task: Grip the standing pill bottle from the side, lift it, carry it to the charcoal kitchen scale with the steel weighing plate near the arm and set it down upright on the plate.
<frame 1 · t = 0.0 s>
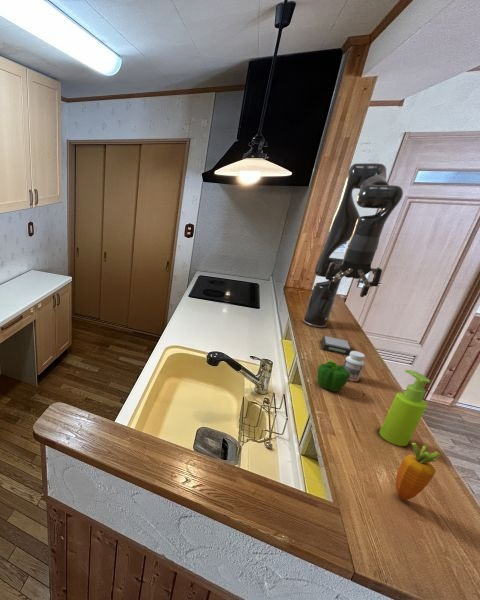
hand: (345, 294, 113), 29 cm above the worktop, tool pointing down, fingers open, 8 cm apart
pill bottle: (348, 377, 117), on the worktop
carrot: (400, 499, 72), on the worktop
soap dispenser: (391, 437, 90), on the worktop
bell pepper: (328, 387, 111), on the worktop
scale: (334, 348, 137), on the worktop
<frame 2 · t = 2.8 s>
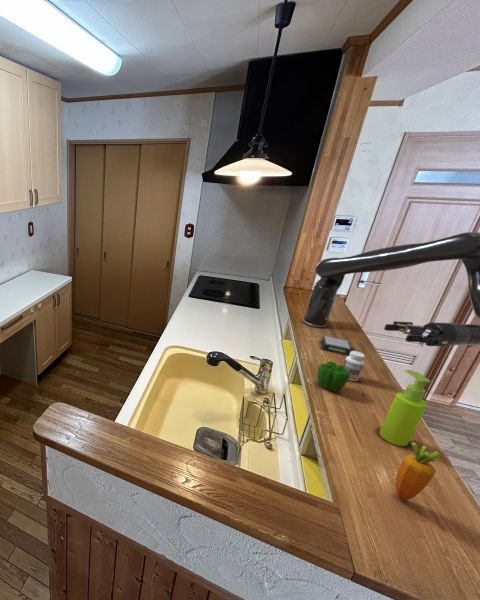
hand: (395, 332, 110), 18 cm above the worktop, tool horizontal, fingers open, 8 cm apart
nothing on the worktop moved.
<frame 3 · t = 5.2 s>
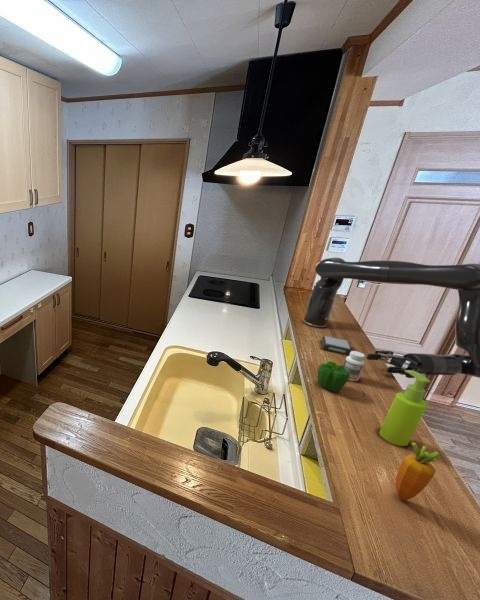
hand: (377, 363, 114), 6 cm above the worktop, tool horizontal, fingers open, 8 cm apart
nothing on the worktop moved.
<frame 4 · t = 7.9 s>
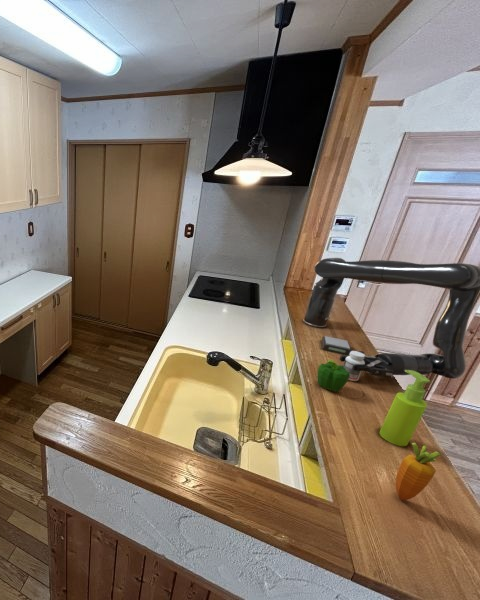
hand: (347, 362, 114), 6 cm above the worktop, tool horizontal, fingers closed on pill bottle, 5 cm apart
pill bottle: (348, 377, 117), on the worktop, touching gripper
everything else where it was.
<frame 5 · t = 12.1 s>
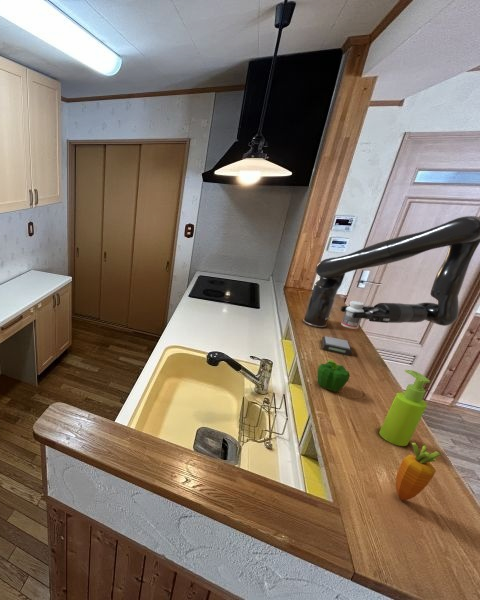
hand: (347, 311, 123), 20 cm above the worktop, tool horizontal, fingers closed on pill bottle, 5 cm apart
pill bottle: (349, 326, 125), point 13 cm above the worktop, touching gripper
everything else where it was.
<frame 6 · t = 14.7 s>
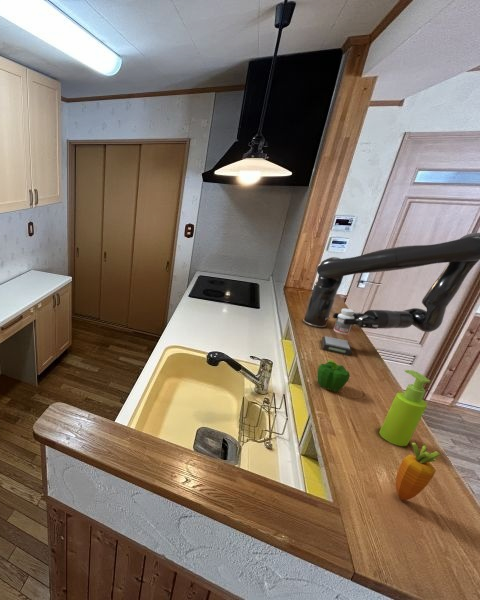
hand: (339, 318, 132), 14 cm above the worktop, tool horizontal, fingers closed on pill bottle, 5 cm apart
pill bottle: (341, 332, 134), point 8 cm above the worktop, touching gripper
everything else where it was.
when the fingers open (9 cm above the worktop, at t = 16.5 s): pill bottle stays where it is, resting on scale.
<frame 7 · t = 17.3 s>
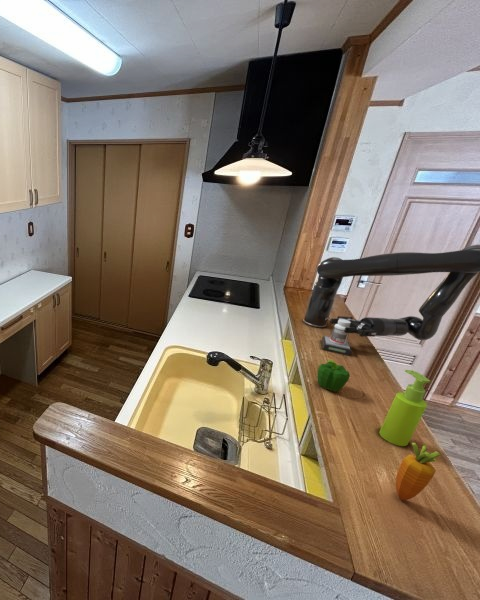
hand: (337, 325, 133), 11 cm above the worktop, tool horizontal, fingers open, 8 cm apart
pill bottle: (337, 342, 136), point 3 cm above the worktop, touching scale
everything else where it was.
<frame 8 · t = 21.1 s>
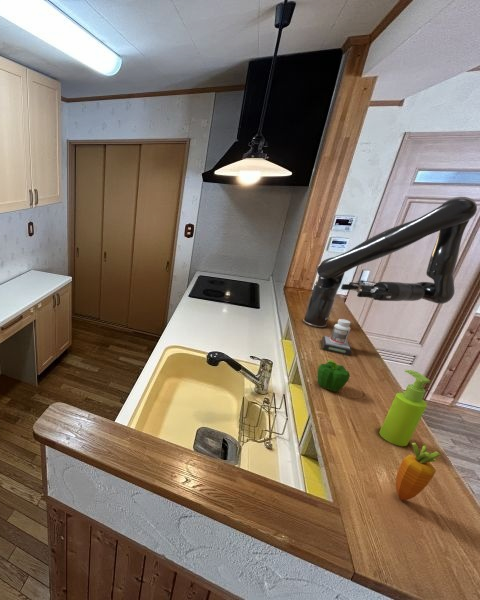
hand: (350, 290, 127), 26 cm above the worktop, tool horizontal, fingers open, 8 cm apart
nothing on the worktop moved.
at the end: pill bottle inside the target area on the scale (0.1 cm from its centre), point 2.8 cm above the scale's base; pill bottle tilted 0°; the gripper is holding nothing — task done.
